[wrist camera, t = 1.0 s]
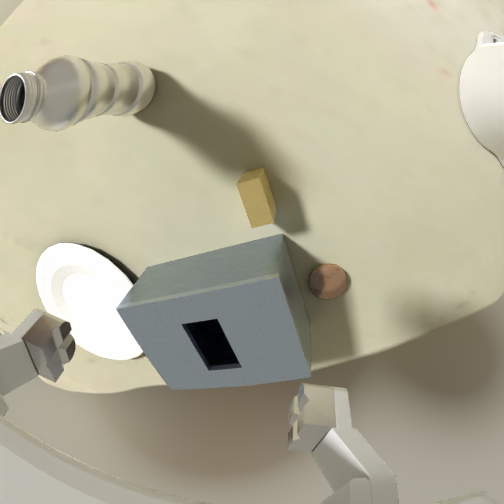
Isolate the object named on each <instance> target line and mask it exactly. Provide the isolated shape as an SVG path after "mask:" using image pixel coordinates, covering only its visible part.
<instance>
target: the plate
mask: <svg viewBox="0 0 504 504" xmlns="http://www.w3.org/2000/svg"><path fill="white" fill-rule="evenodd" d="M36 281H37V286H38V291H39V295H40V297H41V300H42V302H43V304H44V307H45V309H46V310H47V312H48V313H49V314H52V315H54V316H56V317H58V318H61V319H63V320H65V321H67V322H70V325H71V328H72V330H71V332H70V334H71V335H72V336H73V338H74V340H75V343H76V344H78V345H79V346H81V347H82V348H84V349H85V350H87V351H89V352H91V353H94V354H96V355H98V356H100V357H104V358H108V359H113V360H129V359H132V358H135V357H138V356H140V355H141V354H142V353H143V350H142V349H141V347H140V346H139V345H138V343H137V342H136V340H135V339H134V337H133V335H132V334H131V332H130V331H129V329H128V328H127V326H126V325H125V323H124V322H123V320H122V318H121V317H120V315H119V313H118V312H117V310H116V308H117V306H118V305H119V304H120V302H121V301H122V300H123V298H124V297H125V296H126V294H127V293H128V292H129V291H130V289H131V288H132V287H133V285H134V284H133V283H132V282H131V280H130V279H129V278H128V276H127V275H126V274H125V273H124V272H123V271H122V270H121V269H119V268H118V267H117V266H116V265H115V264H114V263H113V262H112V261H111V260H110V259H108V258H106V257H105V256H103V255H101V254H100V253H98V252H97V251H95V250H93V249H91V248H88V247H85V246H82V245H80V244H77V243H58V244H56V245H53V246H50V247H49V248H48V249H47V250H46V251H45V252H44V253H43V254H42V255H41V256H40V259H39V262H38V264H37V271H36Z"/></svg>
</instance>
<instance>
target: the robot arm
mask: <svg viewBox="0 0 504 504" xmlns="http://www.w3.org/2000/svg"><path fill="white" fill-rule="evenodd" d="M493 40H494V41H495V43H494V42H493ZM460 101H461V106H462V110H463V113H464V116H465V119H466V122H467V124H468V126H469V128H470V130H471V131H472V133H473V135H474V136H475V137H476V139H477V140H478V141H479V142H480V143H481V144H482V145H483V146H484V147H485V148H487V149H488V150H490V151H491V152H492V153H494V154H495V155H496V156H497V158H498V159H499V161H500V163H501V164H502V166H503V167H504V36H501V35H498V34H495V33H492V32H488V31H482V32H480V33H479V35H478V39H477V44H476V48H475V50H474V51H473V53H472V54H471V55H470V56H469V57H468V58H467V60H466V62H465V64H464V66H463V68H462V72H461V76H460ZM71 330H72V328H71V325H70V322H67V321H65V320H63V319H61V318H58V317H56V316H54V315H52V314H49V313H47V312H45V311H42V310H40V309H35V310H33V311H32V312H31V313H30V314H29V315H28V316H27V317H26V319H25V320H24V321H23V322H22V323H21V324H20V325H19V326H18V327H17V328H16V329H15V331H14V332H13V333H12V334H11V333H6V334H4V335H1V336H0V504H208V503H204V502H199V501H195V500H190V499H186V498H182V497H178V496H175V495H171V494H167V493H164V492H160V491H157V490H154V489H151V488H148V487H145V486H141V485H139V484H136V483H133V482H130V481H127V480H124V479H122V478H119V477H116V476H114V475H111V474H109V473H106V472H104V471H102V470H99V469H97V468H95V467H92V466H90V465H88V464H86V463H84V462H81V461H79V460H77V459H75V458H73V457H71V456H69V455H67V454H65V453H63V452H61V451H59V450H57V449H55V448H54V447H52V446H50V445H48V444H46V443H45V442H42V441H41V440H39V439H38V438H36V437H34V436H32V435H31V434H29V433H27V432H26V431H24V430H23V429H21V428H20V427H18V426H16V425H15V424H13V423H12V422H10V421H9V420H7V419H6V418H4V415H5V414H6V412H7V411H8V409H9V406H8V404H7V402H6V401H5V399H4V398H3V396H4V395H5V394H7V393H9V392H11V391H12V390H14V389H16V388H18V387H19V386H21V385H23V384H25V383H26V382H28V381H30V380H32V379H33V378H35V377H37V376H38V375H40V376H42V377H45V378H47V379H49V380H51V381H53V382H55V383H56V381H57V380H58V378H59V377H60V375H61V374H62V372H63V371H64V366H63V365H64V364H66V363H68V362H70V360H71V359H72V357H73V355H74V352H75V340H74V338H73V336H72V335H71V334H70V332H71ZM288 422H289V424H290V425H291V429H290V430H289V432H288V441H287V449H288V450H295V451H303V452H312V453H311V454H312V456H313V458H314V459H315V461H316V463H317V464H318V466H319V468H320V469H321V471H322V473H323V475H324V476H325V478H326V480H327V481H328V483H329V485H330V486H331V488H332V490H333V491H334V493H333V494H332V495H331V496H329V497H328V498H326V499H325V500H324V501H322V502H321V503H320V504H399V499H398V491H397V483H396V476H395V474H394V473H393V472H392V471H391V470H390V468H388V466H387V465H386V464H385V463H384V462H383V460H382V459H381V458H380V457H379V456H378V454H377V453H376V452H375V451H374V449H373V448H372V447H371V446H370V445H369V443H368V442H367V441H366V440H365V439H364V437H363V436H362V435H361V434H360V433H359V431H358V430H357V429H353V428H352V421H351V413H350V405H349V399H348V391H347V389H346V388H338V387H330V386H323V385H314V384H306V383H302V384H301V385H300V387H299V389H298V395H297V396H295V397H294V399H293V401H292V403H291V406H290V411H289V420H288ZM431 504H499V503H497V502H496V501H495V500H494V499H493V498H492V497H491V496H490V495H488V494H487V493H486V492H484V491H478V492H474V493H470V494H467V495H463V496H460V497H456V498H452V499H448V500H444V501H440V502H436V503H431Z"/></svg>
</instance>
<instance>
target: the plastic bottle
mask: <svg viewBox="0 0 504 504" xmlns="http://www.w3.org/2000/svg"><path fill="white" fill-rule="evenodd" d="M154 92H155V78H154V75H153V73H152V72H151V70H150V69H149V68H148V67H146V66H145V65H143V64H141V63H139V62H135V61H127V62H121V63H117V64H102V63H96V62H91V61H88V60H84V59H81V58H78V57H73V56H67V55H64V56H59V57H56V58H54V59H51V60H49V61H47V62H46V63H44V64H43V65H42V66H41V67H39V68H38V69H37V70H36V71H26V72H24V73H15V74H12V75H10V76H9V77H8V78H7V79H6V80H5V82H4V83H3V85H2V87H1V90H0V116H1V118H2V119H3V121H4V122H6V123H8V124H14V123H19V122H21V123H25V122H29V121H32V122H33V123H34V124H35V125H37V126H38V127H39V128H41V129H44V130H48V131H60V130H63V129H66V128H68V127H70V126H73V125H75V124H77V123H79V122H81V121H83V120H85V119H89V118H92V117H95V116H99V115H114V116H130V115H133V114H135V113H137V112H139V111H141V110H143V109H144V108H145V107H146V106H147V105H148V104H149V103H150V101H151V99H152V98H153V95H154Z"/></svg>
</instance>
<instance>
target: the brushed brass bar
mask: <svg viewBox="0 0 504 504" xmlns="http://www.w3.org/2000/svg"><path fill="white" fill-rule="evenodd" d="M237 187H238V190H239V193H240V196H241V199H242V201H243V204H244V207H245V210H246V213H247V216H248V218H249V221H250V224H251V227H252V228H255V227H258V226H262V225H266V224H270V223H274V218H275V212H276V205H275V201H274V198H273V195H272V192H271V189H270V186H269V183H268V180H267V177H266V174H265V171H264V167H263V168H260V169H256V170H253V171H250V172H246V173H244V174H243V175H242V177H241V178H240V180H239V181H238V183H237Z"/></svg>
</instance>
